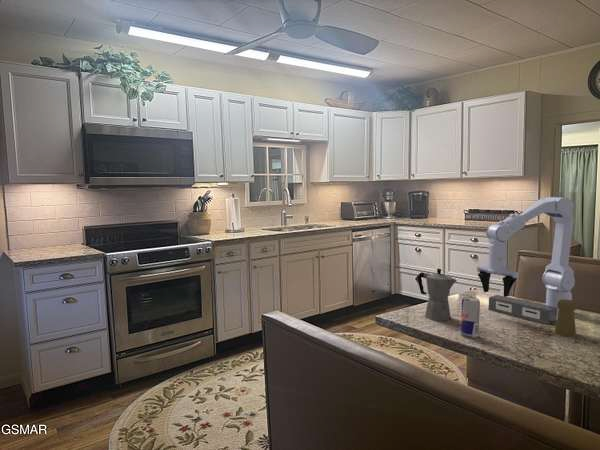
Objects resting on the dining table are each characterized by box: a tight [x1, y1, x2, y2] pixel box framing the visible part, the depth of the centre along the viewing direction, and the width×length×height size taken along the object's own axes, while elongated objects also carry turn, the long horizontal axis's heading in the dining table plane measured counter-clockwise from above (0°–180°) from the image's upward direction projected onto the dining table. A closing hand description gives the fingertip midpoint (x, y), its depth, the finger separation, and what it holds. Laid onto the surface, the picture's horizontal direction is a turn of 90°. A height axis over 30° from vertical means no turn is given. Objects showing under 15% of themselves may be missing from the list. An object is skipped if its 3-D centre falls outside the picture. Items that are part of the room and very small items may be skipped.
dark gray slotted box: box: [488, 294, 558, 325], centre depth 155 cm, size 6×22×5 cm, turn 36°
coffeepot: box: [416, 268, 457, 322], centre depth 153 cm, size 15×9×18 cm, turn 44°
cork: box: [553, 299, 577, 337], centre depth 136 cm, size 6×6×11 cm
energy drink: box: [460, 296, 481, 339], centre depth 133 cm, size 5×5×12 cm
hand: (495, 293), depth 153 cm, fingers open, 7 cm apart
